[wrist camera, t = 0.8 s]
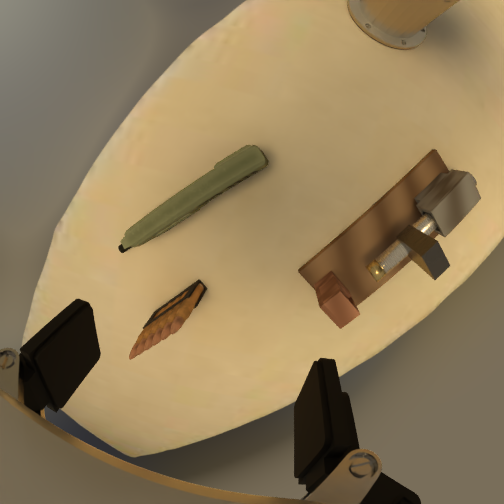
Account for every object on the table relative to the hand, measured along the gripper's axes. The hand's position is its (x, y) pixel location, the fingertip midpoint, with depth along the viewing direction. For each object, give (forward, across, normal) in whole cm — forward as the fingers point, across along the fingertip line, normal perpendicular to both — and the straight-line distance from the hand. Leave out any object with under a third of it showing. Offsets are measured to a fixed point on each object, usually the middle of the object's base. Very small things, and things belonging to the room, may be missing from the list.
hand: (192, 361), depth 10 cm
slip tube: (+24, -22, -5) cm, 32 cm away
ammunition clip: (+27, +9, +15) cm, 33 cm away
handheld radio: (+28, +10, 0) cm, 29 cm away
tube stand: (+27, -19, -2) cm, 33 cm away
